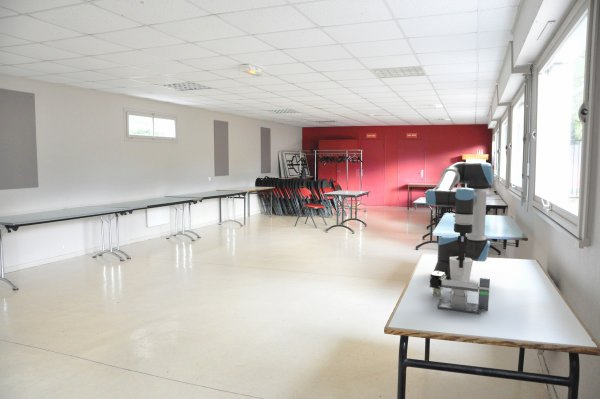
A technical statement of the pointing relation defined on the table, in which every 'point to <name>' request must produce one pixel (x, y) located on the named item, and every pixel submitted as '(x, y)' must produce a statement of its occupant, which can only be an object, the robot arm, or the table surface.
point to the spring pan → (461, 286)
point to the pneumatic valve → (437, 282)
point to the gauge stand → (461, 301)
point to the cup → (466, 270)
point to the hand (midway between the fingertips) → (460, 271)
